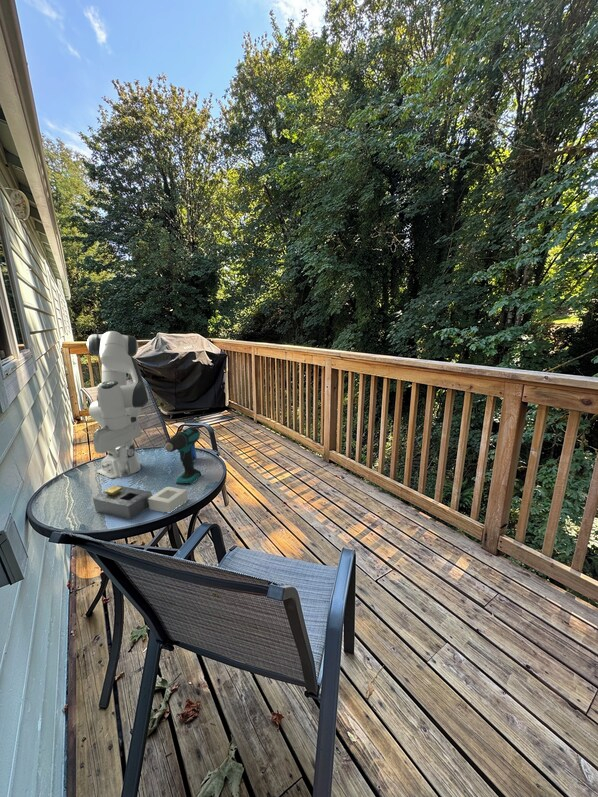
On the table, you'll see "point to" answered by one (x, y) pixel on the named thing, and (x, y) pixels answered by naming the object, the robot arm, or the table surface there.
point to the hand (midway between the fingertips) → (121, 455)
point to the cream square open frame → (167, 499)
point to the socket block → (123, 503)
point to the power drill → (185, 453)
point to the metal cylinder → (123, 461)
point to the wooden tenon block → (113, 490)
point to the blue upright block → (193, 452)
